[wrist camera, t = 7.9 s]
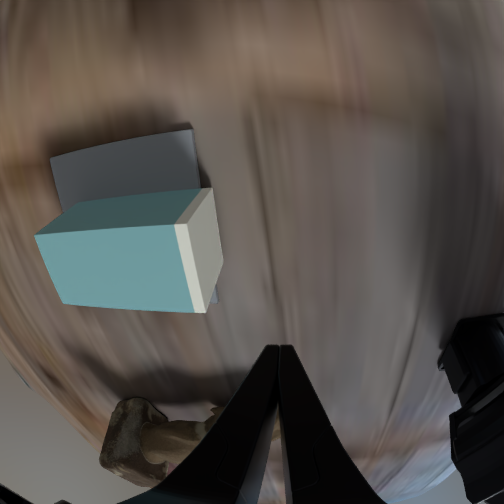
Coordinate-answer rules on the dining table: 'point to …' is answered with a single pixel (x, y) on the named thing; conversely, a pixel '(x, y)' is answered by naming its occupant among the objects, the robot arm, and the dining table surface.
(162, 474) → the sculpture
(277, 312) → the dining table surface
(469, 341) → the robot arm
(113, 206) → the teal block
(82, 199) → the felt mat
